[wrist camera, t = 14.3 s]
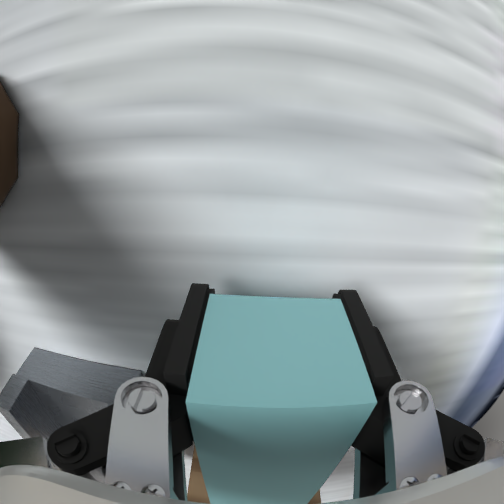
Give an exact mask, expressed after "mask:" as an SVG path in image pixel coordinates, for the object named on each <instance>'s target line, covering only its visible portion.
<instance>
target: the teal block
mask: <svg viewBox="0 0 504 504" xmlns="http://www.w3.org/2000/svg"><path fill="white" fill-rule="evenodd" d="M376 404H377V400H376V397H375V394H374V391H373V387H372V384H371V381H370V378H369V376H368V373H367V370H366V367H365V364H364V361H363V358H362V355H361V352H360V350H359V347H358V344H357V341H356V339H355V336H354V333H353V330H352V328H351V325H350V322H349V320H348V317H347V314H346V312H345V309H344V307H343V304H342V301H341V299H323V298H288V297H263V296H242V295H223V294H210V295H209V299H208V304H207V308H206V312H205V316H204V321H203V325H202V329H201V334H200V338H199V343H198V347H197V351H196V356H195V360H194V365H193V370H192V374H191V379H190V383H189V388H188V393H187V398H186V407H187V412H188V416H189V421H190V426H191V430H192V435H193V439H194V443H195V447H196V452H197V456H198V460H199V464H200V468H201V471H202V475H203V479H204V483H205V486H206V490H207V493H208V497H209V500H210V504H308V502H309V501H310V500H311V499H312V498H313V496H314V495H315V494H316V493H317V491H318V490H319V489H320V488H321V486H322V485H323V484H324V482H325V481H326V480H327V478H328V477H329V476H330V474H331V473H332V472H333V470H334V469H335V468H336V466H337V465H338V463H339V462H340V461H341V459H342V458H343V456H344V455H345V453H346V452H347V451H348V449H349V448H350V446H351V445H352V443H353V442H354V440H355V438H356V437H357V435H358V434H359V432H360V431H361V429H362V427H363V426H364V424H365V422H366V421H367V419H368V418H369V416H370V414H371V412H372V411H373V409H374V407H375V406H376Z"/></svg>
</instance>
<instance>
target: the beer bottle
mask: <svg viewBox="0 0 504 504" xmlns="http://www.w3.org/2000/svg"><path fill="white" fill-rule="evenodd" d="M18 121H19V113H18V112H17V110H16V108H15V107H14V105H13V103H12V102H11V100H10V98H9V96H8V95H7V93H6V91H5V89H4V87H3V86H2V84H1V82H0V207H1V205H2V203H3V201H4V199H5V198H6V196H7V194H8V193H9V191H10V189H11V188H12V186H13V184H14V183H15V181H16V180H17V178H18Z"/></svg>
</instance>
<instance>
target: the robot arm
mask: <svg viewBox="0 0 504 504" xmlns="http://www.w3.org/2000/svg"><path fill="white" fill-rule="evenodd" d="M210 294H215V290H214V289H209V285H208V284H196V283H192V285H191V287H190V290H189V293H188V296H187V299H186V302H185V305H184V308H183V311H182V314H181V317H180V320H170V319H167V320H166V322H165V324H164V326H163V329H162V331H161V334H160V337H159V339H158V342H157V345H156V348H155V350H154V353H153V356H152V358H151V361H150V364H149V367H148V370H147V372H146V375H145V377H136V378H133V379H130V380H128V381H126V382H125V383H123V384H122V385H121V386H120V387H119V389H118V390H117V392H116V395H115V400H114V404H112V405H110V406H108V407H106V408H104V409H101V410H99V411H97V412H95V413H93V414H90V415H88V416H86V417H84V418H81V419H79V420H77V421H74V422H72V423H70V424H67V425H65V426H63V427H60V428H59V429H57V430H55V431H54V432H53V433H52V434H51V435H50V437H49V438H46V439H45V438H44V437H43V436H38V437H32V438H26V439H19V440H12V441H5V442H0V504H207V503H198V502H190V501H187V490H186V478H185V464H184V450H185V449H187V448H188V447H190V446H191V445H192V444H193V441H194V439H193V435H192V430H191V426H190V421H189V416H188V412H187V407H186V398H187V393H188V388H189V383H190V379H191V374H192V370H193V365H194V360H195V356H196V351H197V347H198V343H199V338H200V334H201V329H202V325H203V321H204V316H205V312H206V308H207V304H208V299H209V295H210ZM332 299H341V301H342V304H343V307H344V309H345V312H346V314H347V317H348V320H349V322H350V325H351V328H352V330H353V333H354V336H355V339H356V341H357V344H358V347H359V350H360V352H361V355H362V358H363V361H364V364H365V367H366V370H367V373H368V376H369V378H370V381H371V384H372V387H373V391H374V394H375V397H376V400H377V404H376V406H375V407H374V409H373V411H372V412H371V414H370V416H369V418H368V419H367V421H366V422H365V424H364V426H363V427H362V429H361V431H360V432H359V434H358V435H357V437H356V438H355V440H354V442H353V443H352V445H351V446H353V447H354V448H355V470H354V494H353V499H351V500H345V501H338V502H330V503H321V504H504V442H503V441H499V440H494V439H490V438H486V439H485V440H483V438H482V436H481V435H480V434H479V433H478V432H477V431H476V430H474V429H472V428H470V427H468V426H466V425H464V424H462V423H460V422H458V421H456V420H454V419H453V418H451V417H449V416H447V415H445V414H443V413H441V412H439V411H437V410H435V406H434V402H433V398H432V396H431V393H430V392H429V391H428V389H427V388H426V387H424V386H423V385H422V384H420V383H417V382H415V381H409V380H407V381H401V379H400V377H399V374H398V372H397V370H396V367H395V365H394V363H393V360H392V358H391V356H390V354H389V351H388V349H387V347H386V345H385V342H384V340H383V338H382V336H381V334H380V331H379V330H378V328H377V327H375V326H373V325H372V323H371V321H370V319H369V317H368V314H367V312H366V310H365V308H364V306H363V304H362V302H361V299H360V297H359V295H358V293H357V291H356V290H339V292H338V294H334V295H333V297H332Z"/></svg>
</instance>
